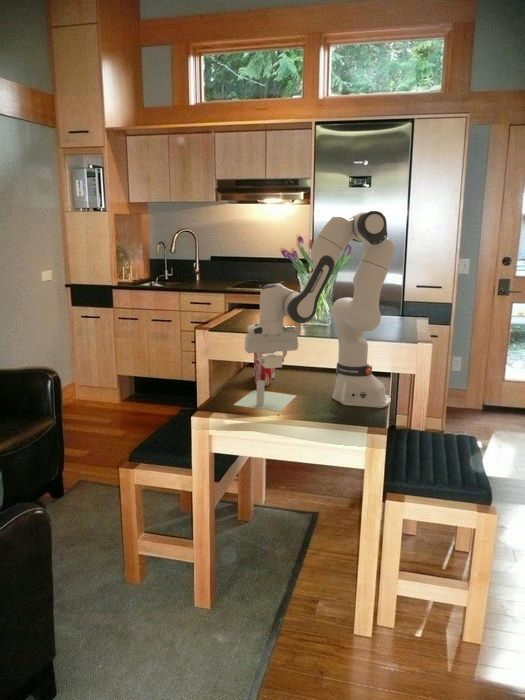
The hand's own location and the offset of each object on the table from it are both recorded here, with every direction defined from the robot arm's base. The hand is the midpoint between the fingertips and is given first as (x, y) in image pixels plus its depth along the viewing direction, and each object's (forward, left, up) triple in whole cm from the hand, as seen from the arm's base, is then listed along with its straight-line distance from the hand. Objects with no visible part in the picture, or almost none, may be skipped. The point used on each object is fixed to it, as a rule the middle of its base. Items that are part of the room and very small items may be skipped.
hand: (271, 362), depth 210 cm
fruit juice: (+14, -29, -15) cm, 36 cm away
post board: (0, +5, -15) cm, 16 cm away
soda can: (+9, -15, -15) cm, 24 cm away
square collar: (0, 0, -1) cm, 1 cm away
